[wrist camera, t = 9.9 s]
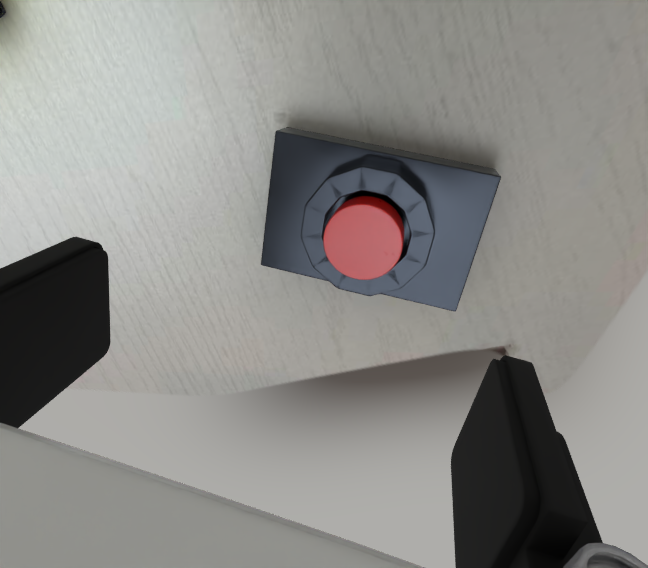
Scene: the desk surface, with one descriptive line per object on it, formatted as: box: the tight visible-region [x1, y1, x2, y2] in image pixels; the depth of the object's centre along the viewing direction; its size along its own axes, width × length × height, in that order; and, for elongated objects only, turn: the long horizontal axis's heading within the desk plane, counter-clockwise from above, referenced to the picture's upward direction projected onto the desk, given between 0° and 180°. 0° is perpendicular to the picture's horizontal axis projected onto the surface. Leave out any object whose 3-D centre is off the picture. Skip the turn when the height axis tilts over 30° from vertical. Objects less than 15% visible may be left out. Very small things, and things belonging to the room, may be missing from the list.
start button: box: [323, 196, 404, 280], centre depth 23 cm, size 4×4×2 cm
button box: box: [261, 127, 501, 311], centre depth 26 cm, size 12×8×4 cm, turn 81°
